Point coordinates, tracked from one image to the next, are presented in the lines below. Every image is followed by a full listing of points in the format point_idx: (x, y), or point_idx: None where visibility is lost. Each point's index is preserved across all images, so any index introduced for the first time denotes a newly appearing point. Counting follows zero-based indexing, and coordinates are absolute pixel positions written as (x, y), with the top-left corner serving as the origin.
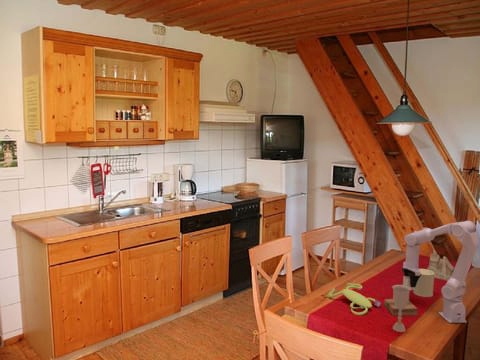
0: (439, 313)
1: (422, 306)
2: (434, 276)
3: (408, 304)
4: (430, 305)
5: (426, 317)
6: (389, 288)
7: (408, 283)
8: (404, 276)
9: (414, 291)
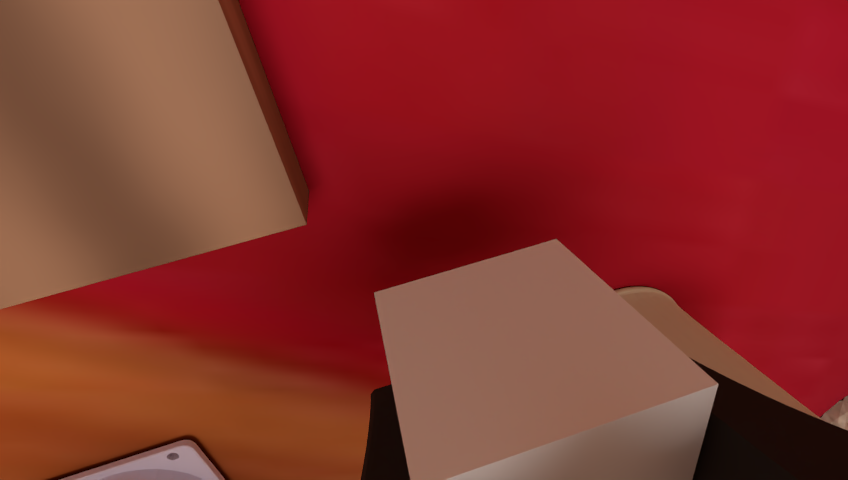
0: (167, 449)
1: (320, 332)
2: (839, 415)
3: (66, 222)
4: (366, 386)
5: (8, 352)
6: (769, 63)
7: (397, 408)
8: (696, 403)
9: (629, 301)
